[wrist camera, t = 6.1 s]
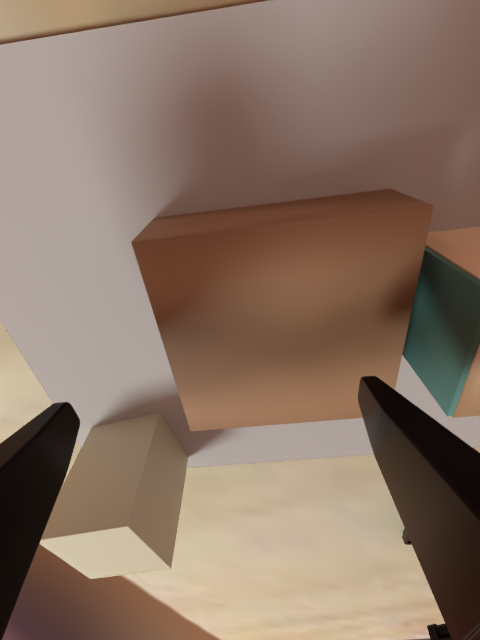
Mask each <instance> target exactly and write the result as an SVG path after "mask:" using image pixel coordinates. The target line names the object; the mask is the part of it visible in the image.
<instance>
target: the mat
mask: <svg viewBox="0 0 480 640" xmlns="http://www.w3.org/2000/svg"><path fill="white" fill-rule="evenodd" d="M382 189H393V190H395V191H398V192H400V193H403V194H405V195H408V196H410V197H413V198H416V199H418V200H421V201H423V202H426V203H428V204H431V205H433V206H434V207H433V212H432V217H431V222H430V226H429V231H428V233H430V232H438V231H446V230H454V229H463V228H471V227H479V226H480V0H268V1H262V2H256V3H250V4H244V5H238V6H232V7H226V8H220V9H214V10H208V11H202V12H195V13H189V14H183V15H177V16H171V17H165V18H159V19H153V20H147V21H141V22H135V23H129V24H123V25H117V26H111V27H105V28H99V29H92V30H86V31H80V32H74V33H68V34H62V35H56V36H50V37H44V38H38V39H32V40H26V41H20V42H14V43H8V44H2V45H0V321H1V323H2V324H3V326H4V327H5V329H6V331H7V332H8V334H9V335H10V337H11V338H12V340H13V342H14V343H15V345H16V346H17V348H18V349H19V351H20V353H21V354H22V356H23V357H24V359H25V360H26V362H27V364H28V365H29V367H30V368H31V370H32V371H33V373H34V374H35V376H36V378H37V379H38V381H39V382H40V384H41V385H42V387H43V389H44V390H45V392H46V393H47V395H48V396H49V398H50V400H51V401H52V403H53V404H54V403H58V402H69V403H70V404H71V405H72V407H73V408H74V410H75V412H76V413H77V415H78V417H79V419H80V428H79V431H78V435H77V439H76V440H77V442H78V443H79V445H80V446H81V448H82V446H83V444H84V442H85V440H86V438H87V436H88V434H89V432H90V430H91V428H92V427H96V426H101V425H105V424H110V423H115V422H119V421H124V420H129V419H133V418H138V417H142V416H147V415H152V414H156V413H160V415H161V416H162V418H163V419H164V421H165V422H166V424H167V425H168V427H169V428H170V430H171V432H172V433H173V435H174V436H175V438H176V439H177V441H178V442H179V444H180V445H181V447H182V448H183V450H184V452H185V453H186V455H187V456H188V462H187V468H194V467H208V466H221V465H235V464H249V463H263V462H277V461H290V460H304V459H318V458H332V457H346V456H359V455H373V454H374V453H373V450H372V447H371V444H370V440H369V437H368V434H367V430H366V427H365V423H364V420H363V418H354V419H342V420H329V421H317V422H304V423H292V424H279V425H267V426H254V427H242V428H229V429H217V430H204V431H192V432H191V431H190V428H189V424H188V421H187V418H186V415H185V412H184V409H183V405H182V402H181V399H180V396H179V393H178V389H177V386H176V383H175V380H174V377H173V374H172V370H171V367H170V364H169V361H168V358H167V355H166V351H165V348H164V345H163V342H162V339H161V336H160V332H159V329H158V326H157V323H156V320H155V317H154V313H153V310H152V307H151V304H150V301H149V297H148V294H147V291H146V288H145V285H144V282H143V278H142V275H141V272H140V269H139V266H138V263H137V259H136V256H135V253H134V250H133V247H132V244H131V242H132V240H133V239H134V238H135V237H136V236H137V235H138V234H139V233H140V232H141V231H142V230H143V229H144V228H145V227H146V226H147V225H148V224H149V223H150V222H151V221H152V220H153V219H154V218H157V217H165V216H173V215H181V214H189V213H197V212H205V211H213V210H221V209H229V208H237V207H245V206H253V205H261V204H270V203H278V202H286V201H294V200H302V199H310V198H318V197H326V196H334V195H342V194H350V193H358V192H366V191H374V190H382ZM395 390H396V391H397V392H398V393H400V394H401V395H402V396H404V397H405V398H406V399H408V400H409V401H410V402H412V403H413V404H414V405H416V406H417V407H419V408H420V409H421V410H423V411H424V412H425V413H427V414H428V415H429V416H431V417H432V418H433V419H435V420H436V421H437V422H439V423H440V424H441V425H443V426H444V427H445V428H447V429H448V430H449V431H451V432H452V433H453V434H455V435H456V436H458V437H459V438H460V439H462V440H463V441H464V442H466V443H467V444H468V445H470V446H471V447H480V416H470V417H458V418H453V417H452V416H446V414H445V413H444V412H443V410H442V409H441V407H440V406H439V405H438V403H437V402H436V401H435V399H434V398H433V396H432V395H431V394H430V392H429V391H428V389H427V388H426V387H425V385H424V384H423V383H422V381H421V380H420V378H419V377H418V376H417V374H416V373H415V372H414V370H413V369H412V367H411V366H410V365H409V363H408V362H407V360H406V359H405V358H404V356H403V355H402V358H401V363H400V368H399V373H398V377H397V382H396V387H395Z"/></svg>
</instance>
